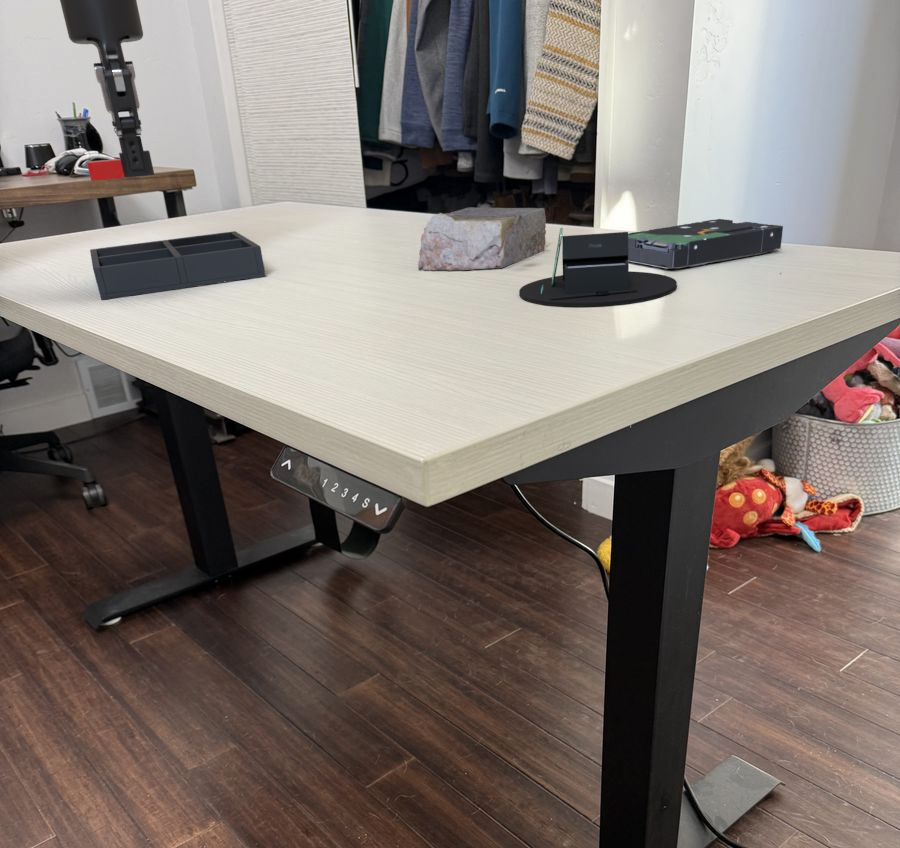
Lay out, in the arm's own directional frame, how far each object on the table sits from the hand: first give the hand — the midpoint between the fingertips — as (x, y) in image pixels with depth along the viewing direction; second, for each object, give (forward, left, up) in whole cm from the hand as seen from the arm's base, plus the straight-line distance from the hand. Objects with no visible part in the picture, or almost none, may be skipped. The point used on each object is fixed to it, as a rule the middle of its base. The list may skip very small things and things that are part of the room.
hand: (137, 172), depth 97 cm
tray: (+2, +8, -13) cm, 15 cm away
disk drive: (+55, -29, -13) cm, 64 cm away
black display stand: (+38, -37, -13) cm, 55 cm away
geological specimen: (+37, -12, -13) cm, 41 cm away
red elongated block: (-1, 0, 0) cm, 2 cm away
